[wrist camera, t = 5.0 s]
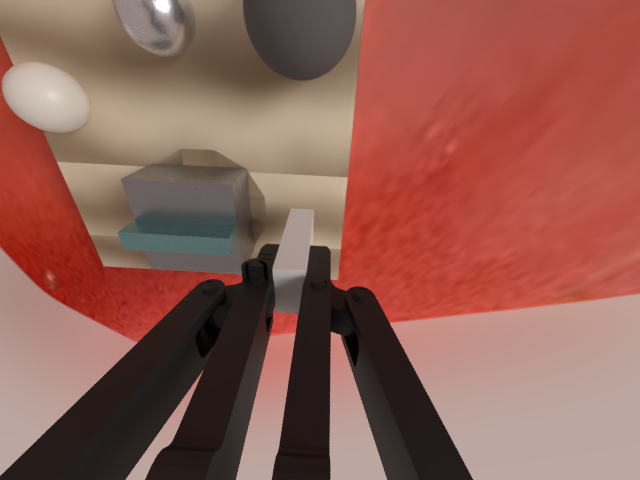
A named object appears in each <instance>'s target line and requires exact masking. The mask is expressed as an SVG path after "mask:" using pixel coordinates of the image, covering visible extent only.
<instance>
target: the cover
mask: <svg viewBox="0 0 640 480" xmlns="http://www.w3.org/2000/svg"><path fill="white" fill-rule="evenodd" d="M121 182H122V184H123V187H124V190H125V193H126V196H127V199H128V202H129V205H130V208H131V211H132V214H133V217H134V220H133V221H132V222H130V223H129V224H128V225H126V226H125V227H124V228H122V229H121V230H120V231H118V232H117V233H118V235H119V238H120V241H121V243H122V246H123V248H124V250H137V251H145V252H146V255H147V258H148V261H149V263H150V266H151V269H167V270H184V271H202V272H219V273H236V274H242V270H241V265H242V264H243V262H245V261H247V260H249V259H250V258H251V255H252V253H253V251H254V239H253V229H252V218H251V208H250V197H249V187H248V177H247V169H245V168H226V167H208V166H189V165H170V164H150V165H148V166H146V167H144V168H142V169H140V170H138V171H136V172H134V173H132V174H130V175H128V176H126V177H124V178H122V179H121Z"/></svg>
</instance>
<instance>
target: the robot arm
mask: <svg viewBox="0 0 640 480" xmlns="http://www.w3.org/2000/svg"><path fill="white" fill-rule="evenodd" d="M313 223H314V209H294V208H291V210H290V213H289V217H288V220H287V223H286V226H285V230H284V233H283V236H282V239H281V243H280V244H265V245H264V246H263V247H262V248H261V249H260V251H259V254H258V256H257V258H253V259H249V260H247V261H245V262H243V264H242V265H241V270H242V278H243V280H242V282H241V283H239V284H235V285H229V286H225V284H224V283H223V282H222V281H220V280H217V279H211V280H206V281H203V282H201V283H200V284H198V285H197V286H196V287H195V288H194V289H193V290H192V291H191V292H190V293H189V294H187V295H186V296H185V297H184V298H183V299H182V300H181V301H180V302H179V303H178V304H177V305H176V306H175V307H174V308H173V309H172V310H171V311H170V312H169V313H168V314H167V315H166V316H165V317H164V318H163V319H162V320H161V321H160V322H159V323H158V324H157V325H156V326H154V327H153V328H152V329H151V330H150V331H149V332H148V333H147V334H146V335H145V336H144V337H143V338H142V339H141V340H140V341H139V342H138V343H137V344H136V345H135V346H134V347H133V348H132V349H131V350H130V351H129V352H128V353H127V354H126V355H125V356H124V357H123V358H122V359H120V360H119V362H117V363H116V364H115V365H114V367H112V368H111V369H110V370H109V371H108V372H107V373H106V374H105V375H104V376H103V377H102V378H101V379H100V380H99V381H98V382H97V383H96V384H95V385H94V386H93V387H92V388H91V389H90V390H88V392H86V394H85V395H83V396H82V397H81V398H80V399H79V400H78V401H77V402H76V403H75V404H74V405H73V406H72V407H71V408H70V409H69V410H68V411H67V412H66V413H65V414H64V415H63V416H62V417H61V418H60V419H59V420H58V421H57V422H55V423H54V425H52V426H51V427H50V428H49V429H48V430H47V431H46V432H45V433H44V434H43V435H42V436H41V437H40V438H39V439H38V440H37V441H36V442H35V443H34V444H33V445H32V446H31V447H30V448H29V449H28V450H27V451H26V452H25V453H24V454H23V455H22V456H21V457H19V458H18V459H17V460H16V461H15V462H14V463H13V464H12V465H11V466H10V467H9V468H8V469H7V470H6V471H5V472H4V473H3V474H2V475H1V476H0V480H125V479H126V478H127V477H128V475H129V474H130V472H131V471H132V469H133V468H134V467H135V465H136V464H137V462H138V461H139V460H140V458H141V457H142V455H143V454H144V453H145V451H146V450H147V448H148V447H149V446H150V444H151V443H152V441H153V440H154V438H155V437H156V436H157V434H158V433H159V432H160V430H161V429H162V427H163V426H164V424H165V423H166V422H167V420H168V419H169V417H170V416H171V415H172V413H173V412H174V410H175V409H176V408H177V406H178V405H179V403H180V402H181V401H182V399H183V398H184V396H185V395H186V393H187V392H188V391H189V389H190V388H191V386H192V385H193V384H194V382H195V381H196V379H197V378H198V376H199V375H200V374H201V372H202V371H203V373H202V375H201V377H200V379H199V382H198V384H197V387H196V389H195V391H194V393H193V396H192V398H191V400H190V403H189V405H188V407H187V410H186V412H185V414H184V416H183V419H182V421H181V423H180V426H179V428H178V430H177V433H176V435H175V437H174V439H173V441H172V443H171V444H170V445H169V446H167V447H165V448H164V449H162V450H161V451H160V453H159V454H158V455H157V457H156V458H155V460H154V462H153V464H152V466H151V468H150V470H149V472H148V474H147V477H146V479H145V480H236V476H237V472H238V468H239V464H240V459H241V455H242V451H243V447H244V442H245V438H246V434H247V430H248V425H249V421H250V417H251V413H252V408H253V404H254V400H255V396H256V392H257V388H258V383H259V379H260V375H261V371H262V366H263V362H264V358H265V354H266V350H267V345H268V341H269V337H270V333H271V328H272V324H273V311H274V307H275V312H278V313H296V314H298V321H297V328H296V335H295V342H294V349H293V357H292V363H291V369H290V376H289V384H288V391H287V397H286V404H285V411H284V418H283V424H282V431H281V438H280V445H279V450H278V453H277V455H276V459H275V464H274V469H273V476H272V480H330V456H329V437H330V436H329V433H330V342H331V341H330V340H331V332H334V333H337V334H340V335H341V338H342V341H343V344H344V347H345V350H346V354H347V356H348V360H349V363H350V366H351V369H352V372H353V375H354V378H355V381H356V384H357V388H358V391H359V394H360V397H361V400H362V403H363V406H364V409H365V412H366V415H367V418H368V422H369V424H370V428H371V431H372V434H373V437H374V440H375V443H376V446H377V449H378V452H379V455H380V458H381V461H382V465H383V468H384V471H385V474H386V477H387V480H473V479H472V477H471V475H470V473H469V471H468V469H467V467H466V466H465V464H464V462H463V460H462V458H461V456H460V454H459V452H458V451H457V449H456V447H455V445H454V443H453V441H452V439H451V437H450V436H449V434H448V432H447V430H446V428H445V426H444V425H443V423H442V421H441V419H440V417H439V415H438V413H437V411H436V409H435V407H434V406H433V404H432V402H431V400H430V398H429V396H428V394H427V392H426V391H425V389H424V387H423V385H422V383H421V381H420V379H419V377H418V376H417V374H416V372H415V370H414V368H413V366H412V365H411V362H410V361H409V359H408V357H407V355H406V353H405V351H404V349H403V347H402V346H401V344H400V342H399V340H398V338H397V336H396V334H395V333H394V331H393V329H392V327H391V325H390V323H389V321H388V319H387V317H386V316H385V314H384V312H383V310H382V308H381V306H380V304H379V302H378V301H377V299H376V297H375V295H374V294H373V292H372V291H370V290H369V289H367V288H364V287H352V288H350V289H349V290H347V291H344V290H341V289H338V288H337V287H335V286H334V285H333V284H332V282H331V251H330V249H329V248H328V247H327V246H313Z"/></svg>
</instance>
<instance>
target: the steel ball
mask: <svg viewBox="0 0 640 480" xmlns="http://www.w3.org/2000/svg"><path fill="white" fill-rule="evenodd" d="M110 2H111V7H112V10H113V13H114V16H115V18H116V20H117V22H118V24H119V25H120V27H121V28H122V30H123V31H124V32H125V34H126V35H127V36H128V37H129V38H130V39H131V40H132V41H133V42H134V43H135V44H136V45H138V46H139V47H140V48H142V49H144V50H145V51H147V52H149V53H152V54H154V55H158V56H164V57H170V56H176V55H178V54H181V53H182V52H184V51H185V50H186V49H187V48H188V47H189V46H190V44H191V43H192V41H193V38H194V35H195V30H196V18H195V13H194V9H193V6H192V3H191V1H190V0H110Z"/></svg>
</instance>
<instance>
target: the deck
mask: <svg viewBox="0 0 640 480" xmlns="http://www.w3.org/2000/svg"><path fill="white" fill-rule="evenodd" d="M190 1H191V3H192V6H193V9H194V13H195V18H196V30H195V35H194V38H193V41H192V43H191V44H190V46H189V47H188V48H187V49H186V50H185V51H184V52H182V53H181V54H178V55H176V56H170V57H164V56H158V55H154V54H152V53H149V52H147V51H145V50H144V49H142V48H140V47H139V46H138V45H136V44H135V43H134V42H133V41H132V40H131V39H130V38H129V37H128V36H127V35H126V34H125V32H124V31H123V30H122V28H121V27H120V25H119V24H118V22H117V20H116V18H115V16H114V13H113V10H112V7H111V2H110V0H0V37H1V39H2V41H3V43H4V46H5V48H6V50H7V52H8V55H9V57H10V59H11V61H12V63H13V66H14V65H17V64H19V63H23V62H41V63H46V64H49V65H52V66H55V67H57V68H59V69H61V70H63V71H65V72H66V73H68V74H69V75H71V76H72V77H73V78H74V79H75V80H77V81H78V82H79V83H80V85H81V86H82V87H83V88H84V90H85V92H86V93H87V95H88V98H89V101H90V105H91V112H90V117H89V119H88V121H87V122H86V123H85V124H84V125H83V126H82V127H81V128H79V129H77V130H75V131H72V132H67V133H53V132H48V131H44V130H43V132H44V135H45V137H46V139H47V141H48V143H49V146H50V148H51V150H52V152H53V154H54V157H55V159H56V161H57V163H58V166H59V168H60V170H61V172H62V174H63V177H64V179H65V181H66V183H67V186H68V188H69V190H70V192H71V194H72V197H73V199H74V201H75V203H76V206H77V208H78V210H79V212H80V214H81V217H82V219H83V221H84V223H85V226H86V228H87V230H88V232H89V234H90V237H91V239H92V241H93V243H94V246H95V248H96V250H97V252H98V254H99V257H100V259H101V261H102V263H103V266H108V267H125V268H143V269H151V266H150V263H149V261H148V258H147V255H146V252H145V251H137V250H124V248H123V246H122V243H121V241H120V238H119V235H118V233H117V232H118V231H120V230H121V229H122V228H124V227H125V226H126V225H128V224H129V223H130V222H132V221H133V220H134V217H133V214H132V211H131V208H130V205H129V202H128V199H127V196H126V193H125V190H124V187H123V184H122V182H121V179H122V178H124V177H126V176H128V175H130V174H132V173H134V172H136V171H138V170H140V169H142V168H144V167H146V166H148V165H150V164H170V165H189V166H208V167H226V168H245V169H247V177H248V187H249V197H250V208H251V218H252V229H253V239H254V251H253V253H252V255H251V258H250V259H253V258H257V256H258V254H259V251H260V249H261V248H262V247H263V246H264V245H265V244H280V243H281V239H282V236H283V233H284V230H285V226H286V223H287V220H288V217H289V213H290V210H291V208H294V209H314V223H313V246H327V247H328V248H329V249H330V251H331V280H338V272H339V262H340V252H341V241H342V231H343V221H344V210H345V200H346V190H347V179H348V169H349V159H350V148H351V138H352V128H353V117H354V107H355V96H356V86H357V76H358V65H359V55H360V45H361V34H362V24H363V14H364V3H365V0H356V24H355V30H354V34H353V38H352V40H351V43H350V46H349V48H348V50H347V52H346V53H345V55H344V57H343V58H342V60H341V61H340V62H339V63H338V64H337V65H336V66H335V67H334V68H333V69H332V70H331V71H329V72H328V73H327V74H325V75H323V76H321V77H319V78H316V79H313V80H307V81H299V80H292V79H289V78H286V77H284V76H281V75H279V74H278V73H276V72H275V71H273V70H272V69H271V68H270V67H268V66H267V65H266V64H265V63H264V62H263V60H262V59H261V58H260V57H259V55H258V54H257V52H256V50H255V49H254V47H253V45H252V43H251V41H250V38H249V35H248V32H247V30H246V25H245V21H244V14H243V0H190ZM160 270H167V269H160ZM177 271H184V270H177ZM194 272H202V271H194ZM211 273H219V272H211ZM228 274H236V273H228Z"/></svg>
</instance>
